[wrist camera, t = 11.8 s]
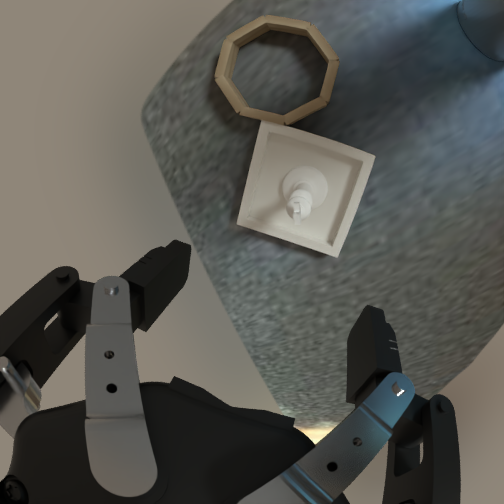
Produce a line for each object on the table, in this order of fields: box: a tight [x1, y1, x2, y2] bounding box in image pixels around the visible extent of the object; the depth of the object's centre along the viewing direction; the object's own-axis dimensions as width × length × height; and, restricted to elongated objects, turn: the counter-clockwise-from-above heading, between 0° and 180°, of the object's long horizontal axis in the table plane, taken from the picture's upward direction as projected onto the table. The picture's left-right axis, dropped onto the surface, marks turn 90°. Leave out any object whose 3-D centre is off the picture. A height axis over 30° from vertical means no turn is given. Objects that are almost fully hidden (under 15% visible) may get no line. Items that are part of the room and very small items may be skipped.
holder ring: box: [214, 15, 340, 126], centre depth 23 cm, size 12×12×2 cm
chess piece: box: [282, 165, 328, 225], centre depth 24 cm, size 5×5×10 cm
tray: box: [237, 120, 376, 257], centre depth 28 cm, size 12×12×2 cm
